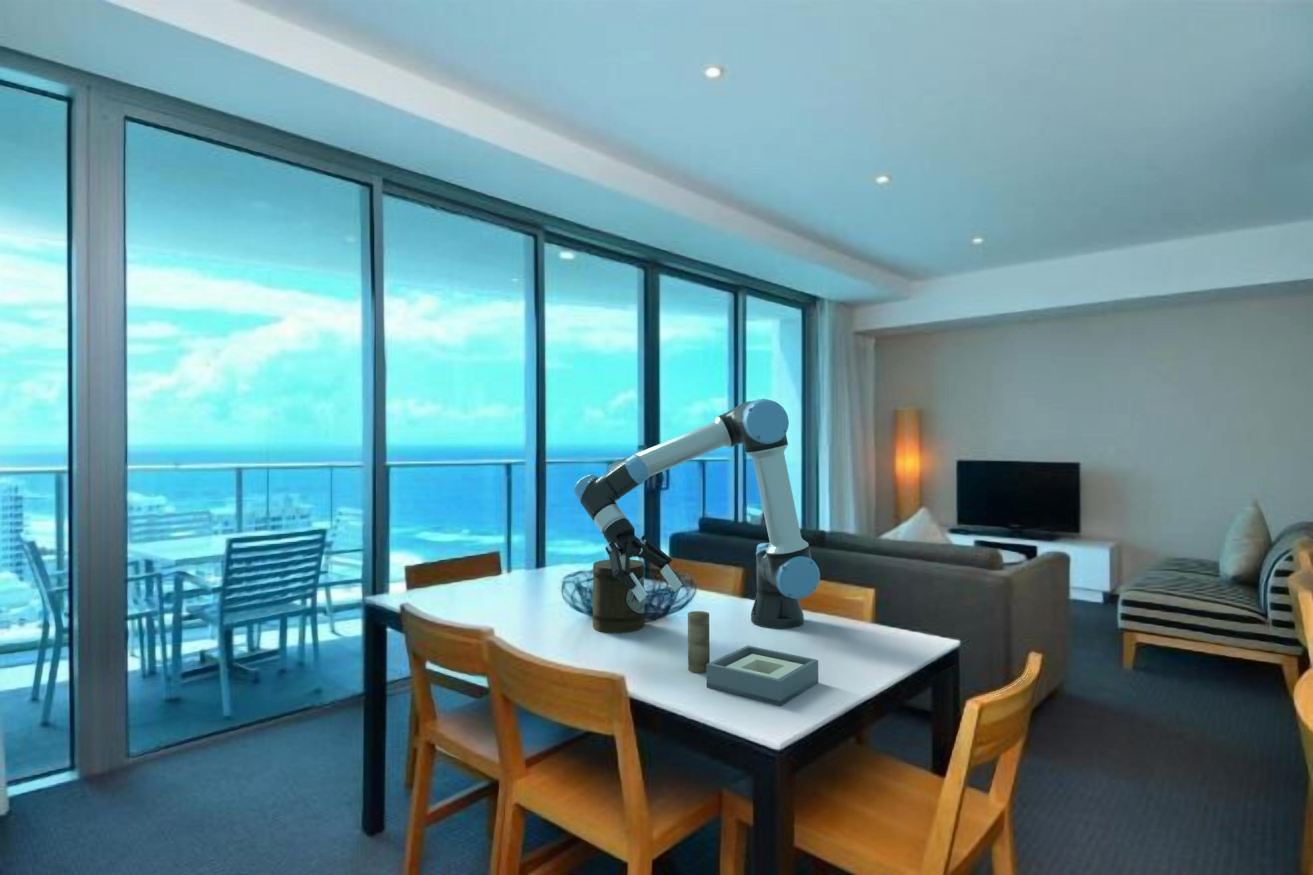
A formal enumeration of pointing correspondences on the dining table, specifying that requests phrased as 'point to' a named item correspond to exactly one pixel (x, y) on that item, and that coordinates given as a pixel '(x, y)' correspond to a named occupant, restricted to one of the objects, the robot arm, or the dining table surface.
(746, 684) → the tray
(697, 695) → the dining table surface
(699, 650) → the peg
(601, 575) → the wooden container
